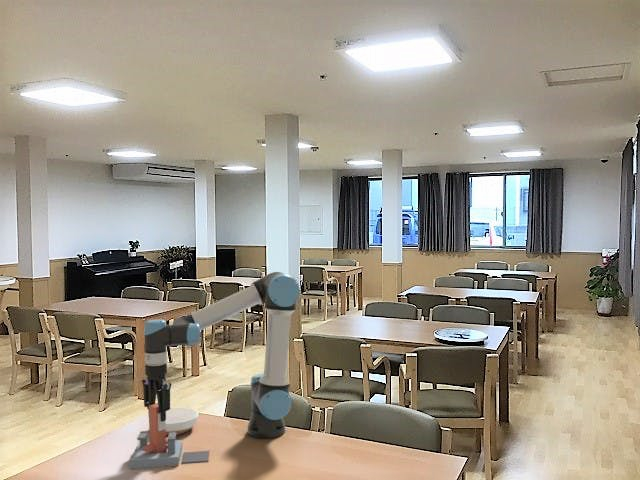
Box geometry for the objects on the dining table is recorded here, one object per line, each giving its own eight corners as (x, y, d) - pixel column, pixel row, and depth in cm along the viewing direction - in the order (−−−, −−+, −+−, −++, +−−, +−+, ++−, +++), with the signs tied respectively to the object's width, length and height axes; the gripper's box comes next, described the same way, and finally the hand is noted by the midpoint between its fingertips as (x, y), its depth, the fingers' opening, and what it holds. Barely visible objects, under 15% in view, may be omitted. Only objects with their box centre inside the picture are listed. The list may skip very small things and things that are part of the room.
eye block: (182, 447, 213) (182, 425, 213) (178, 465, 197) (178, 441, 197) (138, 451, 211) (137, 428, 210) (130, 469, 195) (130, 445, 195)
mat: (209, 451, 209) (209, 450, 209) (208, 461, 200) (208, 460, 200) (184, 453, 208) (184, 452, 208) (181, 463, 199) (181, 462, 199)
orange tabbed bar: (167, 448, 210) (166, 400, 209) (174, 451, 207) (173, 401, 207) (140, 459, 200) (139, 408, 200) (148, 462, 198) (147, 410, 198)
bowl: (192, 439, 222) (192, 423, 222) (142, 439, 222) (142, 423, 222) (203, 422, 242) (203, 407, 241) (157, 422, 242) (157, 408, 242)
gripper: (132, 362, 205) (133, 427, 206) (163, 368, 195) (164, 436, 196) (149, 358, 211) (150, 421, 212) (180, 364, 201) (181, 430, 202)
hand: (157, 428), depth 204 cm, fingers closed on orange tabbed bar, 4 cm apart
